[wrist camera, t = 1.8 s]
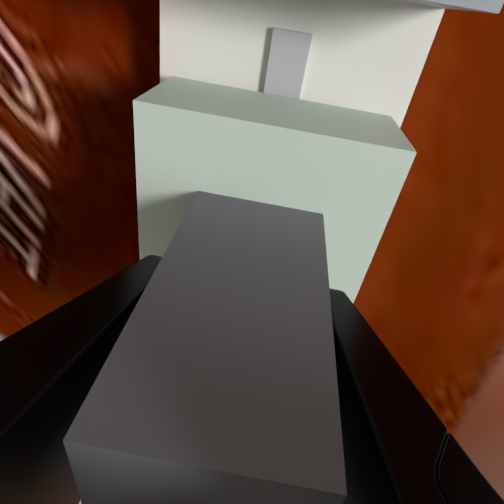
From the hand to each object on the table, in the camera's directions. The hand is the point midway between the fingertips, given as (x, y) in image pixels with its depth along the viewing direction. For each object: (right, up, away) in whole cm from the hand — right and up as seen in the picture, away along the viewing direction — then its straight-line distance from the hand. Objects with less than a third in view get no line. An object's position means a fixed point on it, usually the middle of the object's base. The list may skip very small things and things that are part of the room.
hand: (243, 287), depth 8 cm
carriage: (+1, +3, +4) cm, 4 cm away
